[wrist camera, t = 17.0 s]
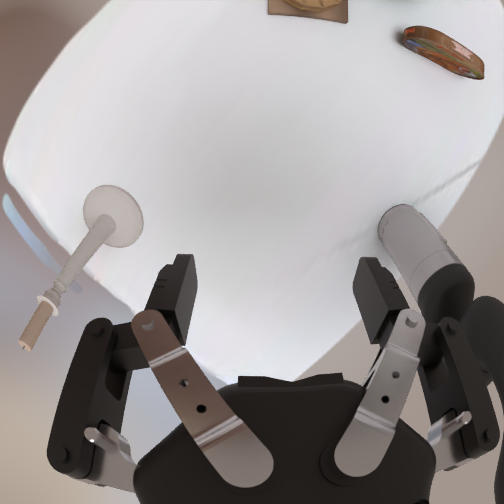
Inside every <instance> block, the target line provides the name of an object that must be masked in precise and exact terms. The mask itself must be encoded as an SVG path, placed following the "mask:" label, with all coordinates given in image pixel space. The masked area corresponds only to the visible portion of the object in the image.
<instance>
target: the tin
mask: <svg viewBox="0 0 504 504" xmlns="http://www.w3.org/2000/svg"><path fill="white" fill-rule="evenodd" d="M403 44H404V45H405V47H407V48H408V49H410V50H411V51H413V52H415V53H417V54H419V55H421V56H423V57H425V58H427V59H429V60H431V61H433V62H435V63H437V64H439V65H440V66H442V67H444V68H446V69H448V70H449V71H451V72H454V73H456V74H458V75H461V76H464V77H467V78H471V79H476V80H482V79H484V63H483V61H482V60H481V59H480V58H479V57H478V56H477V55H476V54H474V53H473V52H472V51H470V50H469V49H467V48H466V47H464V46H463V45H461V44H460V43H458V42H457V41H455V40H454V39H452V38H450V37H449V36H447V35H445V34H444V33H442V32H440V31H438V30H435V29H432V28H429V27H424V26H412V27H408V28H406V29H405V30H404V39H403Z"/></svg>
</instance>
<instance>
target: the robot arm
mask: <svg viewBox="0 0 504 504" xmlns="http://www.w3.org/2000/svg"><path fill="white" fill-rule="evenodd" d="M378 235H379V238H380V240H381V241H382V243H383V245H384V246H385V248H386V250H387V251H388V253H389V255H390V256H391V258H392V260H393V261H394V263H395V265H396V266H397V268H398V270H399V271H400V273H401V275H402V277H403V278H404V280H405V282H406V284H407V285H408V287H409V289H410V291H411V293H412V295H413V296H414V298H415V300H416V302H417V304H418V306H419V308H420V310H421V313H422V315H421V314H420V313H418V312H417V311H415V310H412V309H410V307H409V306H408V303H407V301H406V299H405V297H404V295H403V293H402V292H401V290H400V289H399V286H398V284H397V283H396V280H395V278H394V276H393V275H392V273H391V272H390V271H389V270H387V269H386V268H385V267H382V266H381V265H380V263H379V261H378V259H377V258H376V257H361V258H360V260H359V264H358V267H357V271H356V274H355V277H354V281H353V293H354V296H355V299H356V301H357V304H358V307H359V310H360V313H361V316H362V319H363V322H364V325H365V328H366V331H367V334H368V337H369V340H370V343H371V344H380V349H379V351H378V353H377V355H376V357H375V359H374V361H373V363H372V365H371V367H370V369H369V371H368V373H367V375H366V377H365V379H364V381H363V382H362V384H361V385H359V384H357V383H354V382H351V381H348V380H343V375H342V373H334V374H333V373H332V374H319V375H315V376H312V377H308V378H305V379H301V380H298V381H294V382H290V381H284V380H279V379H274V378H270V377H265V376H238V383H235V384H231V385H228V386H225V387H223V388H221V389H219V390H217V391H216V389H215V388H214V387H213V385H212V384H211V383H210V381H209V380H208V378H207V377H206V376H205V375H204V373H203V372H202V370H201V369H200V367H199V366H198V364H197V363H196V362H195V360H194V359H193V357H192V356H191V354H190V353H189V351H188V350H187V349H186V348H183V347H182V346H185V344H186V339H187V334H188V329H189V325H190V320H191V316H192V311H193V307H194V302H195V298H196V293H197V275H196V268H195V261H194V256H193V254H177V255H176V258H175V260H174V263H173V265H171V264H167V265H165V266H164V267H163V268H162V269H161V270H160V272H159V274H158V276H157V279H156V281H155V284H154V287H153V289H152V291H151V294H150V296H149V299H148V302H147V304H146V307H145V309H144V311H141V312H139V313H138V314H136V315H135V316H134V318H133V319H132V322H129V323H124V324H118V325H113V324H112V323H111V321H110V320H109V319H107V318H97V319H94V320H92V321H90V322H89V323H88V324H87V326H86V327H85V329H84V331H83V334H82V336H81V339H80V341H79V344H78V347H77V349H76V352H75V355H74V357H73V360H72V363H71V365H70V368H69V371H68V374H67V378H66V380H65V383H64V386H63V389H62V393H61V396H60V399H59V403H58V406H57V410H56V414H55V417H54V421H53V425H52V429H51V433H50V438H49V442H48V447H47V458H48V460H49V462H50V464H51V466H52V467H53V468H54V469H55V470H57V471H58V472H60V473H63V474H65V475H68V476H70V477H71V478H73V479H76V480H79V481H82V482H85V483H88V484H94V485H97V486H102V487H104V486H110V487H114V488H117V489H122V490H125V491H129V492H134V493H136V495H137V497H138V499H139V502H140V504H429V495H430V489H431V484H432V480H433V477H434V474H435V473H436V472H438V471H441V470H444V471H450V470H453V469H454V468H457V467H459V466H461V465H464V464H466V463H468V462H470V461H472V460H474V459H476V458H478V457H480V456H482V455H484V454H486V453H487V452H489V451H491V450H492V449H494V448H495V447H496V446H497V444H498V442H499V438H500V431H499V426H498V422H497V419H496V415H495V412H494V408H493V405H492V401H491V398H490V395H489V392H488V389H487V386H488V385H489V384H490V383H491V382H492V381H493V382H494V384H495V386H496V389H497V391H498V394H499V397H500V400H501V403H502V408H503V414H504V304H503V303H502V302H500V301H499V300H498V299H496V298H494V297H490V296H481V297H478V298H477V299H475V300H474V301H473V298H474V290H475V283H474V279H473V277H472V275H471V274H470V272H468V270H467V268H466V267H465V266H464V265H463V263H462V262H461V261H460V260H459V258H458V257H457V256H456V255H455V254H454V252H453V251H452V250H451V249H450V247H449V246H448V245H447V241H446V239H445V238H444V237H443V236H442V235H441V234H440V233H439V231H438V230H437V229H436V228H435V227H434V226H433V225H432V224H431V223H430V222H429V221H428V219H427V218H426V217H425V216H424V215H423V214H420V213H419V212H418V211H417V210H416V209H415V208H413V207H412V206H409V205H398V206H395V207H393V208H392V209H390V210H389V211H388V212H387V213H386V214H385V215H384V216H383V218H382V219H381V221H380V224H379V228H378ZM149 367H151V369H152V371H153V373H154V375H155V377H156V378H157V380H158V382H159V384H160V386H161V388H162V389H163V391H164V393H165V395H166V396H167V398H168V400H169V401H170V403H171V404H172V406H173V408H174V409H175V411H176V413H177V414H178V416H179V418H180V419H181V421H182V423H181V424H180V425H179V426H178V427H176V428H175V430H173V431H172V432H171V433H170V434H169V435H168V436H167V437H166V438H164V439H163V440H162V441H161V442H160V443H159V444H158V445H156V446H155V447H154V448H153V449H152V450H151V451H150V452H148V453H147V454H146V455H145V456H144V457H143V458H142V459H141V460H140V461H139V462H138V464H137V465H136V464H135V463H134V462H133V460H132V458H131V453H130V445H129V443H128V441H127V440H126V439H125V438H124V437H123V436H122V435H121V434H120V433H121V427H122V421H123V415H124V410H125V405H126V400H127V395H128V389H129V385H130V380H131V375H132V371H133V370H137V369H143V368H149ZM416 371H418V374H419V378H420V381H421V385H422V388H423V392H424V396H425V400H426V404H427V408H428V413H429V417H430V422H431V427H430V429H429V431H428V437H427V438H426V440H425V439H424V438H423V437H421V436H420V435H419V434H418V433H417V432H416V431H414V430H413V429H412V428H411V427H410V426H409V425H407V424H406V423H405V422H404V421H403V420H401V419H400V418H399V416H400V414H401V411H402V409H403V407H404V404H405V402H406V399H407V396H408V394H409V391H410V388H411V386H412V382H413V380H414V377H415V374H416ZM494 493H495V502H496V504H504V433H503V440H502V447H501V452H500V456H499V461H498V466H497V470H496V476H495V483H494Z"/></svg>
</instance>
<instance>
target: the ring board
mask: <svg viewBox="0 0 504 504" xmlns="http://www.w3.org/2000/svg"><path fill="white" fill-rule="evenodd" d="M268 14H271V15H288V16H299V17H308V18H316V19H322V20H329V21H335V22H340V23H345V24H346V23H347V22H348V0H268Z"/></svg>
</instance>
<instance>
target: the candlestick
mask: <svg viewBox="0 0 504 504" xmlns="http://www.w3.org/2000/svg"><path fill="white" fill-rule="evenodd" d="M83 215H84V220H85V223H86V225H87V227H88V229H89V230H90V231H89V232H88V233H87V235H86V236H85V238H84V239H83V240H82V242H81V243H80V245H79V246H78V247H77V249H76V250H75V252H74V253H73V255H72V256H71V258H70V259H69V261H68V262H67V264H66V265H65V267H64V268H63V270H62V271H61V273H60V275H59V276H58V278H57V279H56V281H55V282H54V286H53V288H52V289H50V290H47V291H45V293H44V295H43V296H38V297H37V302H38V304H39V307H38V308H37V310H36V311H35V313H34V315H33V316H32V318H31V320H30V321H29V323H28V325H27V326H26V328H25V330H24V332H23V334H22V335H21V337H20V339H19V343H20V345H21V346H22V347H23V348H25V349H26V350H28V351H31V350H32V348H33V346H34V345H35V343H36V341H37V339H38V337H39V335H40V333H41V331H42V330H43V328H44V326H45V324H46V322H47V321H48V319H49V317H50V315H52V316H57V315H58V309H57V307H58V306H59V305H60V297H61V294H62V293H65V292H66V289H67V288H68V287H69V285H70V284H71V283H72V281H73V280H74V279H75V277H76V276H77V275H78V273H79V272H80V271H81V269H82V268H83V267H84V266H85V264H86V263H87V262H88V261H89V259H90V258H91V257H92V256H93V254H94V253H95V252H96V251H97V250H98V248H99V247H100V246H101V245H102V244H103V243H104V244H106V245H108V246H111V247H117V248H122V247H127V246H129V245H131V244H133V243H134V242H135V241H136V240H137V239H138V238H139V236H140V235H141V232H142V230H143V215H142V211H141V209H140V207H139V205H138V203H137V202H136V200H135V199H134V198H133V197H132V196H131V195H130V194H129V193H128V192H127V191H125V190H123V189H122V188H119V187H117V186H113V185H103V186H99V187H97V188H95V189H94V190H92V191H91V192H90V193H89V194H88V196H87V197H86V199H85V202H84V206H83Z"/></svg>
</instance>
